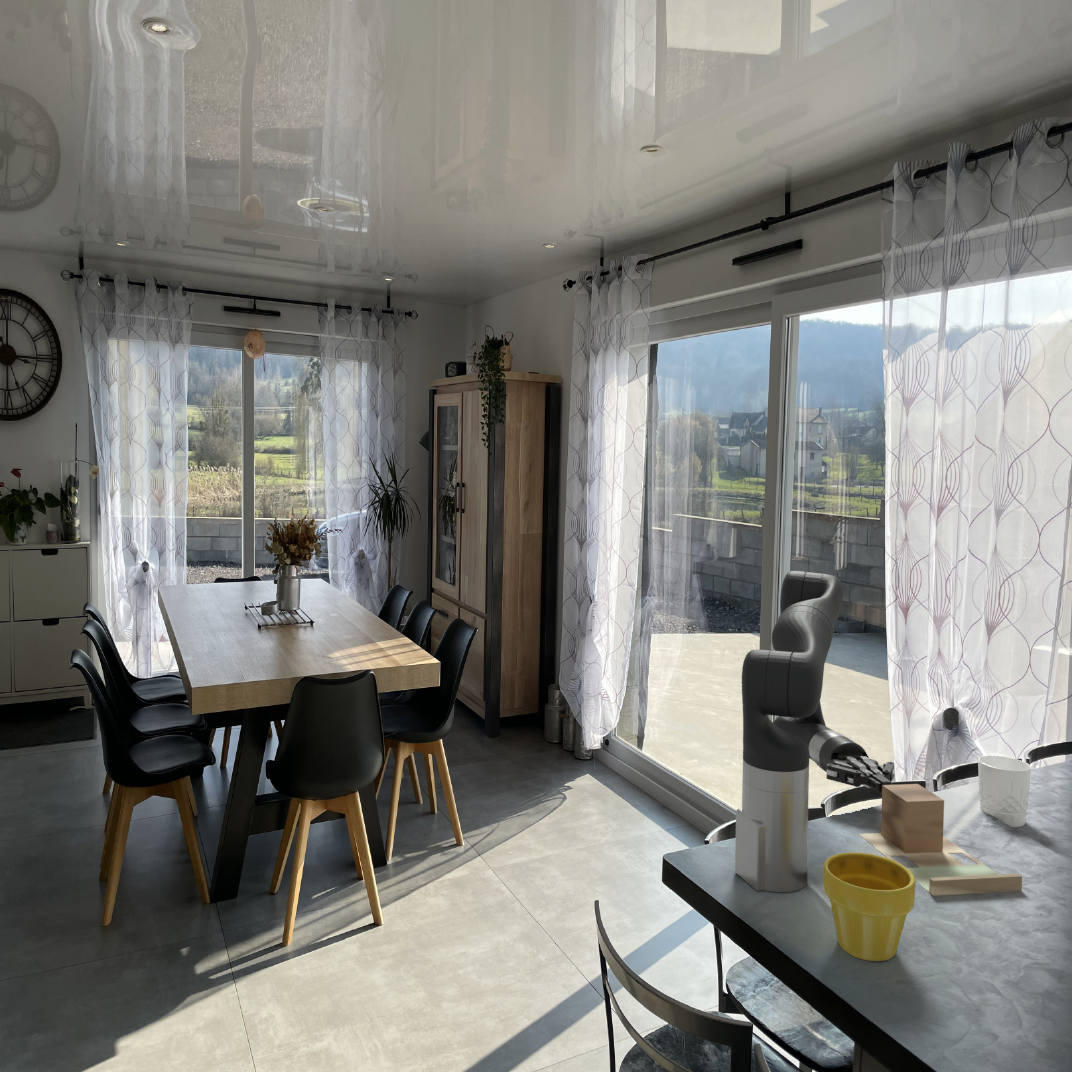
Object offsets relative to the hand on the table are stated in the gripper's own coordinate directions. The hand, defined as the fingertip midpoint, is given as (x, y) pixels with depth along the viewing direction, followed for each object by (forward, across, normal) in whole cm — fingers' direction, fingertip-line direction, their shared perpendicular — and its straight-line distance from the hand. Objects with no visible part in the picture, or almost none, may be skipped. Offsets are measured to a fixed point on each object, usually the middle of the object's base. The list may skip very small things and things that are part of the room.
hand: (887, 788), depth 133 cm
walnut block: (+7, 0, +6) cm, 9 cm away
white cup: (-3, +23, +8) cm, 24 cm away
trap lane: (+13, 0, +8) cm, 15 cm away
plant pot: (+32, -21, +8) cm, 39 cm away
